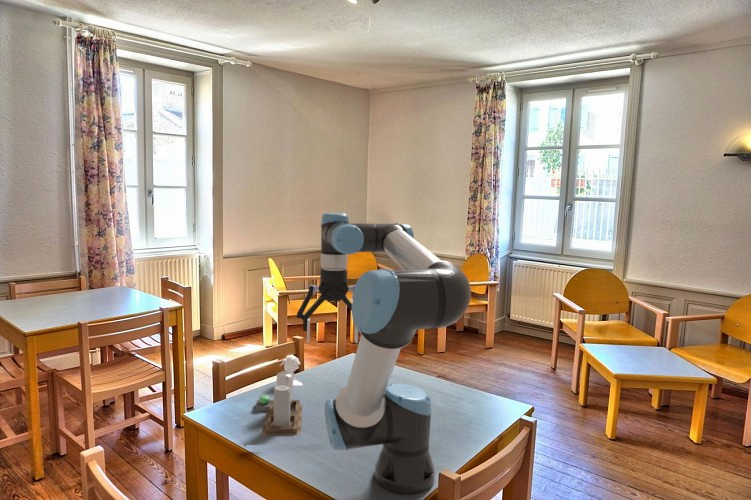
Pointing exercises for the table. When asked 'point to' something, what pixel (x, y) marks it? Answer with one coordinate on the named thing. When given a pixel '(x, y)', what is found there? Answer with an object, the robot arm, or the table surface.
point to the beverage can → (282, 405)
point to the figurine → (291, 367)
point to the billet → (286, 383)
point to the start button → (264, 399)
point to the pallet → (269, 419)
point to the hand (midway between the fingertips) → (332, 341)
